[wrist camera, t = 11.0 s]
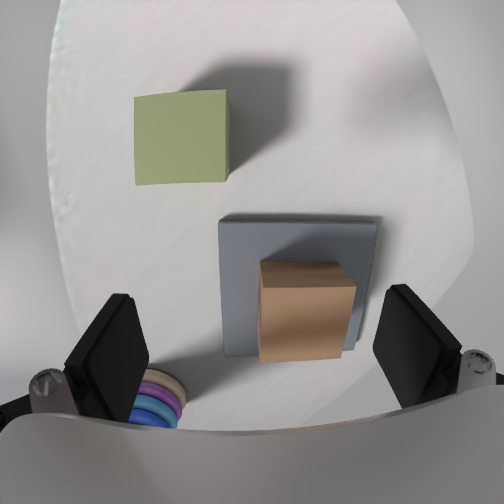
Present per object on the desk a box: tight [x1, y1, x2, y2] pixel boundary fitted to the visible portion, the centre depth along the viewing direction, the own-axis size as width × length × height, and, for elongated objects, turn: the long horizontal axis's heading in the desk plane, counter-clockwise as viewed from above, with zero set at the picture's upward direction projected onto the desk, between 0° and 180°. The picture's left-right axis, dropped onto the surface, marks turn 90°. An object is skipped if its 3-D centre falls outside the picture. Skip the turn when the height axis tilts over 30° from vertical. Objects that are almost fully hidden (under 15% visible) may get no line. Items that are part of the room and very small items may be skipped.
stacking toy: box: [128, 369, 186, 429], centre depth 23 cm, size 8×8×19 cm
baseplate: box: [218, 220, 377, 356], centre depth 27 cm, size 14×14×1 cm
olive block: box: [134, 89, 230, 185], centre depth 19 cm, size 6×6×6 cm
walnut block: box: [257, 261, 356, 362], centre depth 24 cm, size 7×7×5 cm
